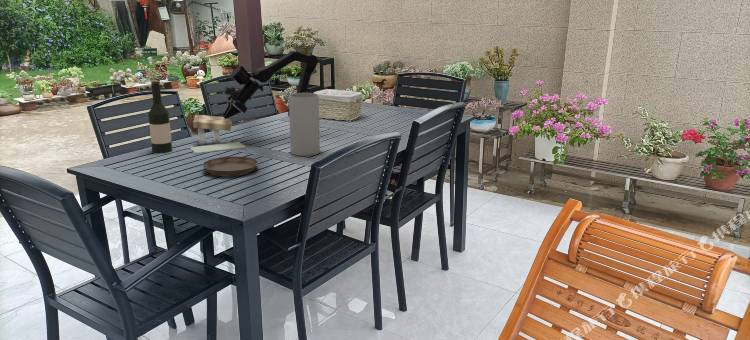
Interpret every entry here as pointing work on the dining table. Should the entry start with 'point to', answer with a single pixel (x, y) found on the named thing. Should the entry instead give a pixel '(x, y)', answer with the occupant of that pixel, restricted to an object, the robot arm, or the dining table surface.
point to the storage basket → (339, 104)
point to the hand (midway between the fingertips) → (223, 117)
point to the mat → (217, 147)
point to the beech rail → (212, 122)
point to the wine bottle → (159, 123)
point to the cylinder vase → (304, 124)
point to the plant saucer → (230, 166)
